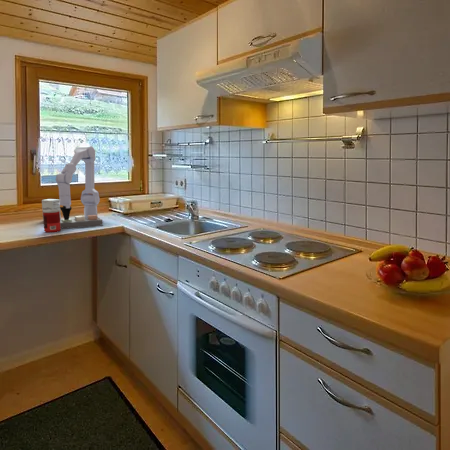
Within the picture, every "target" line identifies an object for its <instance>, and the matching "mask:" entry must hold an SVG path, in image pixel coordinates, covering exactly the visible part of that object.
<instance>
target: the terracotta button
mask: <svg viewBox="0 0 450 450" xmlns="http://www.w3.org/2000/svg"><path fill="white" fill-rule="evenodd" d="M97 216H98V214H97V215H88V220H95V219H97Z"/></svg>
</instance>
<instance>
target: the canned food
mask: <svg viewBox="0 0 450 450" xmlns="http://www.w3.org/2000/svg"><path fill="white" fill-rule="evenodd" d="M60 214H61V210H60V211H59V210H56V209H53V210H44V211H42V220H44V221H43V229H44V230H43V231H44V232H45V233H47V234H48V233H49V234H51V233H52V234H53V233H59V232H61V225H60Z"/></svg>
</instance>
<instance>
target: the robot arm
mask: <svg viewBox="0 0 450 450" xmlns="http://www.w3.org/2000/svg"><path fill="white" fill-rule="evenodd" d="M73 152H74V155H73V156H72V158H71V159H70V160H71V161H70V162H67V163H66V164H65V166H64V167H63V169H62V170H61V172H60V173H57V175H55V182H56V184H57V187H58V196H59V197H58V198H59V199H60V203H58V205H60V212H61V213H62V217H63V219H64V220H69V219H70V216H71V215H70V214H71V211H72V209H73V208H72V206H71V205H72V198H71V197H72V196H71V186H70V185H71V183H72V181H73V175H74V174H75V172H76V170H77V165H78V164H79V163H80V162H81V161H83V162H84V169H85V170H84V171H85V172H84V175H85V177H84V179H85V180H84V184H85V186H84V187H85V189H84V190H82V192H81V195H80V202H81V203H82V205H83V206H84V208H83V216H84V217H85V218H88V215H97V217H98V205H99V204H100V201H101V199H100V194H99V191H98V190H97V189H95V162H96V150H95V148H94V146H92V145H89V146H88V145H87V146H86V145H85V146H82V145H81V146H79V145H78V146H75V149H74V151H73ZM98 218H99V217H98Z"/></svg>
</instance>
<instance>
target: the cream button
mask: <svg viewBox="0 0 450 450" xmlns="http://www.w3.org/2000/svg"><path fill="white" fill-rule="evenodd" d="M74 219H75V221H82V220H85V217H84V215H75V216H74Z"/></svg>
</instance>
